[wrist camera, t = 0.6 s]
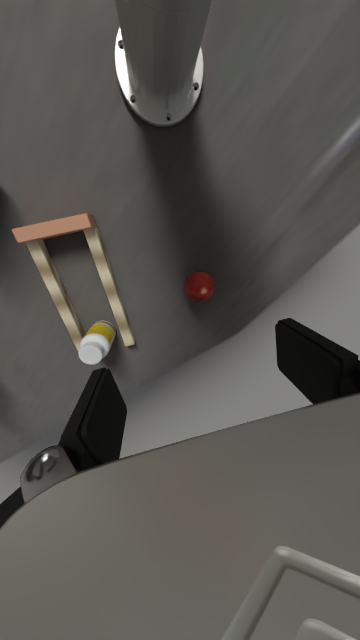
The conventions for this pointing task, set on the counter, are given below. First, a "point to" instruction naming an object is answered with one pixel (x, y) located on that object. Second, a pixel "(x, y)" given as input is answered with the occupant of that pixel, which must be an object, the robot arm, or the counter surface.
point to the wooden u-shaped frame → (47, 269)
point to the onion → (199, 286)
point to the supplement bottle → (97, 342)
